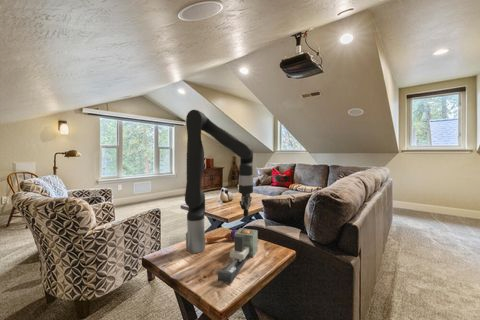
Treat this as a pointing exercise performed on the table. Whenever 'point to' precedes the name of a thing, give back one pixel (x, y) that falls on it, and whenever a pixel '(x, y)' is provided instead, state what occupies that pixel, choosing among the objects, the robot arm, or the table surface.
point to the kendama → (228, 236)
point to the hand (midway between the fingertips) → (245, 216)
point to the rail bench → (231, 274)
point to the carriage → (239, 248)
